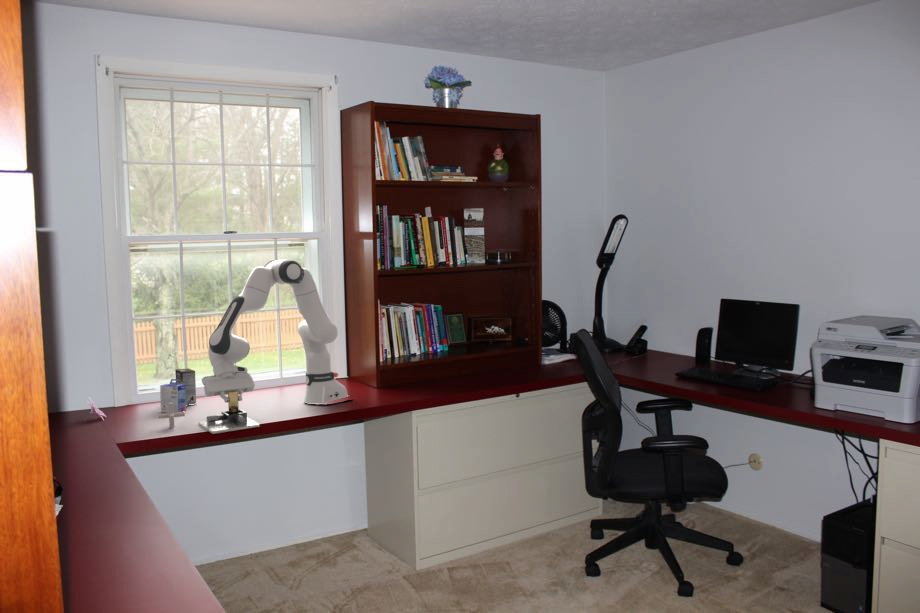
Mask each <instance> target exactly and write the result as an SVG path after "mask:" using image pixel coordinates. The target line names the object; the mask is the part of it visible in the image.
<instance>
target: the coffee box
mask: <svg viewBox="0 0 920 613" xmlns="http://www.w3.org/2000/svg"><path fill="white" fill-rule="evenodd" d="M174 371H175V379H178V382H177V384H184V385H185V394H186V405H189V404H195V403H196V404H197V389H196V388H197V387H196V385H197V384H196V383H197V382H196V371H195V370H194V369H191V368H178V369H175V370H174Z"/></svg>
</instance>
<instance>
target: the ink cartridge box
mask: <svg viewBox="0 0 920 613" xmlns="http://www.w3.org/2000/svg"><path fill="white" fill-rule="evenodd" d="M177 382H178V379H176V378H171V379H170V381H169V383H166V384H162V385H159V388H160V390H159V391H160V413H169V403H173V407H174V413H178V412H183V411H185V412H186V411H187V406H186V394H185V385H184V384H177Z"/></svg>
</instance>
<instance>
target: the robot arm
mask: <svg viewBox="0 0 920 613" xmlns="http://www.w3.org/2000/svg"><path fill="white" fill-rule="evenodd" d="M286 284H288V285H289V286H290V288H291V290H292V294H293V297H294V301H295V304H296V307H297V310H298V312H299V314H300V315H301V316H302V318H303V320H302V321H301V322H299V325H298V327H297V328H298V329H297V332H298V335H299V336H300V338H301V340H302V341H301V342H302V345H303V348H304V353H305V363H306V364H305V365H306V372H305V385H306V389H305V396H304V401H305V402H307V403H325V402H329V401H333V400H337V399H341V398H345V397H348V396H349V395H348V390H347V387H346V386H345V385H344V384H342V383H340V381H338V380H336V379H335V378H338V376H339V373H338V372H333V371H331V366H332V365H331V355H330V352H329V351H328V349H327V348H328V347H327V344H331V343H333V342H334V341H336V339H337V338H338V333H339V331H338V328H337V326H336V324H335V323H333V321H332V320H331V318H330V316H329V315H328V312H327V311H326V309H325V307H324V305H323V302H322V300H321V295H320V293H319V289H318V286H317V283H316V281H315V279H314V276H313V274H312V272H311V271H310V270H309V269H308V268H306V267H302V266H301V264H300V263H299V262H298V261H296V260H293V259H286V258H285V259H283V258H281V259H277V260H270V261H268V262H267V263H266V264H265V265H264V266H263V265H262V266H261V265H260V266H259V265H258V266H256V267H254V268H253V270H251V272H250V274H249V276H248V278H247V280H246V282H245V284H244V287H243V290H242V291H241V293H239V295H238V296H235V297H234V298H233V299H232V300H231V302H230V304H229V305H228V307H227V308H226V310H225V313H224V314H223V316H222V318H221V320H220V322H218V323H219V324H218V325H217V327H216V328H215V329H214V331H213V332H212V333H211V335H210V337H209V339H208V345H209V346H208V358H209V361H210V364H211V366H212V371H213V374H212V375H206V376H203V377H202V378H201V383H202V385H203V387H204V388H203V389H204V390H203V391H204V394H205V396H207V397H215V396H219V397H220V398H221V399H222V400H224V401H223V402H224V403H227V404H228V402H229V397H228V396H226V395H228V392H230V391H238V402H242V400H243V397H242V396H243V393H249V392H253V391H254V388H255V386H256V384H255V382H254V380H253V379H254V378H253V377H252V376H251V374H250V373H248V367H244V366H239V365H235V364H236V363H239V362H240V361H242V360H243V359H245V358H246V357H247V356H248V355H249V353H250V342H249V341H248V340H247V339H246V338H243V337H240V336H238V335H235V334H234V333H232V331H233V328H234V327H235V325H236V322H237V321H238V319H239V317H240V316H241V315H242V314H243V313H246V312H256V311H259V310H261V309H263V308H264V307H265V306H266V304H267V302H268V299H269V297H270V294H271V290H272V289H273V287H274V286H275V285H286ZM304 401H303V402H304Z"/></svg>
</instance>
